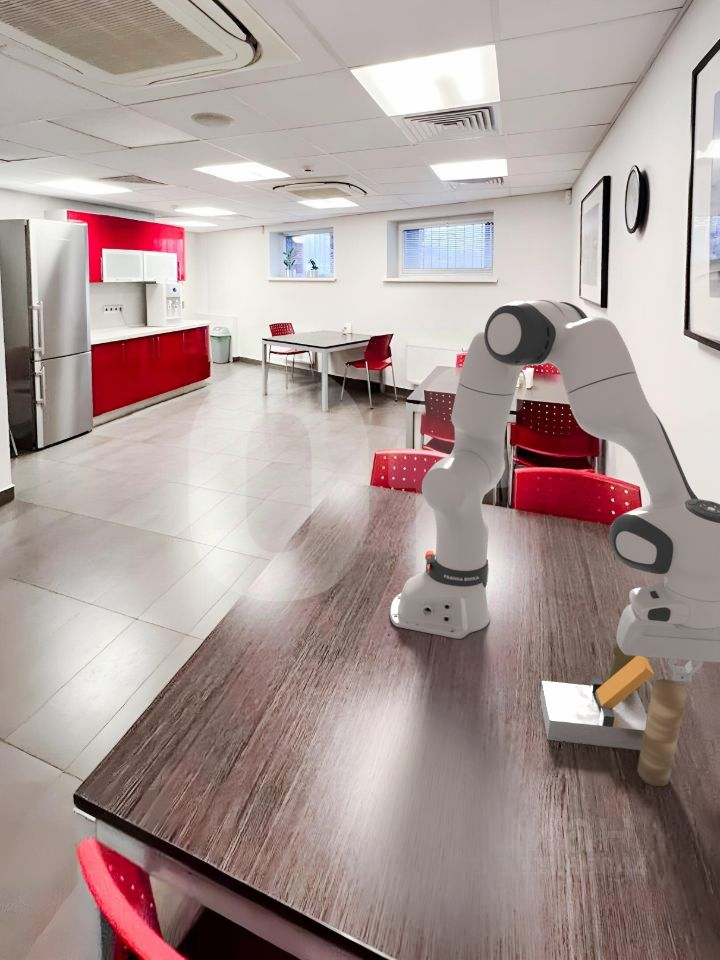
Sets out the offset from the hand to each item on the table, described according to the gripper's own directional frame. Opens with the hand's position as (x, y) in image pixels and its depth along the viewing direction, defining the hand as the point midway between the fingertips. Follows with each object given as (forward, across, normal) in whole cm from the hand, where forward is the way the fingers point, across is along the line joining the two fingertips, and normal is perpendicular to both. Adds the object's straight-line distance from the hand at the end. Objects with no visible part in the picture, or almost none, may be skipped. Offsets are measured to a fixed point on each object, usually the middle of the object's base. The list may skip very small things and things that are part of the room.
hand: (679, 678), depth 95 cm
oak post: (+11, +6, +10) cm, 16 cm away
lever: (+6, +11, 0) cm, 13 cm away
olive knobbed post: (+11, +5, -9) cm, 15 cm away
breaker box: (+11, +12, 0) cm, 16 cm away
